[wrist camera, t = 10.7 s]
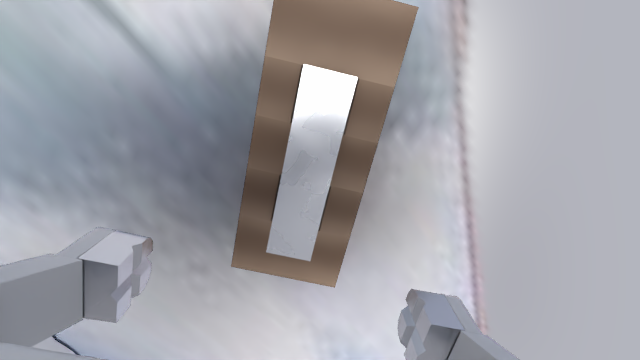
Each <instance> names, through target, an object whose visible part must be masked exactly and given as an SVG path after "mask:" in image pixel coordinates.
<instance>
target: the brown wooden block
mask: <svg viewBox="0 0 640 360" xmlns="http://www.w3.org/2000/svg"><path fill="white" fill-rule="evenodd" d="M417 10H418V7H416V6H412V5H408V4H404V3H401V2H397V1H393V0H274V2H273V8H272V14H271V21H270V27H269V33H268V39H267V46H266V52H265V58H264V64H263V71H262V77H261V83H260V89H259V96H258V102H257V108H256V114H255V121H254V127H253V133H252V139H251V146H250V152H249V158H248V164H247V171H246V177H245V183H244V189H243V196H242V202H241V208H240V214H239V221H238V227H237V233H236V239H235V246H234V252H233V258H232V264H231V267H236V268H241V269H246V270H251V271H256V272H261V273H265V274H270V275H275V276H280V277H285V278H290V279H295V280H300V281H305V282H310V283H315V284H320V285H325V286H330V287H335V285H336V282H337V278H338V275H339V272H340V268H341V265H342V262H343V258H344V255H345V251H346V248H347V245H348V241H349V238H350V235H351V231H352V228H353V225H354V221H355V218H356V215H357V211H358V208H359V205H360V201H361V198H362V195H363V191H364V188H365V185H366V181H367V178H368V174H369V171H370V168H371V164H372V161H373V158H374V154H375V151H376V148H377V144H378V141H379V138H380V134H381V131H382V128H383V124H384V121H385V118H386V114H387V111H388V108H389V104H390V101H391V97H392V94H393V91H394V87H395V84H396V81H397V77H398V74H399V71H400V67H401V64H402V61H403V57H404V54H405V51H406V47H407V44H408V41H409V37H410V34H411V31H412V27H413V24H414V21H415V17H416V14H417ZM304 64H306V65H310V66H314V67H318V68H322V69H326V70H330V71H334V72H338V73H342V74H347V75H351V76H355V77H358V78H357V82H356V86H355V90H354V94H353V98H352V101H351V105H350V109H349V113H348V117H347V121H346V125H345V129H344V132H343V136H342V140H341V144H340V148H339V152H338V156H337V160H336V163H335V167H334V171H333V175H332V179H331V183H330V187H329V191H328V194H327V198H326V202H325V206H324V210H323V214H322V218H321V222H320V225H319V229H318V233H317V237H316V241H315V245H314V249H313V253H312V256H311V260H310V261H306V260H301V259H296V258H292V257H287V256H282V255H277V254H272V253H267V252H266V250H267V245H268V240H269V235H270V230H271V225H272V220H273V215H274V210H275V205H276V200H277V195H278V190H279V185H280V180H281V175H282V170H283V165H284V160H285V155H286V150H287V145H288V140H289V135H290V130H291V125H292V120H293V115H294V110H295V105H296V100H297V95H298V90H299V85H300V80H301V75H302V70H303V65H304Z"/></svg>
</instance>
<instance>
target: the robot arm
mask: <svg viewBox="0 0 640 360" xmlns="http://www.w3.org/2000/svg"><path fill="white" fill-rule="evenodd" d="M152 251H153V240H152V239H151V238H150V237H145V236H140V235H136V234H131V233H126V232H122V231H116V230H113V229H107V228H102V227H99V228H95V229H93V230H92V231H90V232H89V233H87V234H86V235H84V236H83V237H82V238H80V239H79V240H77V241H76V242H74V243H73V244H71V245H70V246H68V247H67V248H65V249H64V250H62V251H61V252H59V253H58V254H56V255H54V254H47V255H43V256H39V257H35V258H31V259H27V260H23V261H19V262H14V263H10V264H6V265H2V266H0V360H106V359H100V358H94V357H88V356H81V355H76V354H75V353H74V352H73V351H71V350H70V349H68V348H67V347H65V346H64V345H62V344H61V343H59V342H57V341H56V340H55V339H54V338H53V337H52V336H53V335H55V334H57V333H59V332H61V331H62V330H64V329H66V328H68V327H70V326H72V325H74V324H76V323H77V322H79V321H81V320H83V318H86V319H93V320H100V321H107V322H114V323H116V322H117V321H118V320H119V319H120V318H121V316H122V315H123V314H124V313H125V312H126V310H127V309H128V308H129V307H130V305H131V298H133V297H135V296H138V295H139V294H140V293H141V292H142V291H143V289H144V288H145V286H146V284H147V282H148V280H149V277H150V273H151V266H152V263H151V262H150V260H149V258H148V257H147V256H148V255H149V254H150V253H151V252H152ZM406 302H407V304H408V306H407V307H406V308H404V309H403V310H402V311H401V313H400V316H399V319H398V336H399V339H400V342H401V343H402V344H403V345H404V346H405V347H406V351H405V353H404V356H405V359H406V360H520V359H518V358H517V357H516V356H514V355H513V354H512V353H510V352H509V351H508V350H506V349H505V348H504V347H503V346H501V345H500V344H499V343H497V342H496V341H495V340H493V339H492V338H491V337H489V336H488V335H483V334H482V332H481V331H480V329H479V328H478V326H477V324H476V323H475V321H474V320H473V318H472V317H471V315H470V314H469V312H468V310H467V309H466V307H465V306H464V304H463V303H462V301H461V300H460V299H459V298H458V297H457V296H451V295H445V294H437V293H431V292H426V291H420V290H414V289H411V290H410V291H409V293H408V295H407V297H406Z"/></svg>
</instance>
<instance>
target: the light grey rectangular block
mask: <svg viewBox="0 0 640 360" xmlns="http://www.w3.org/2000/svg"><path fill="white" fill-rule="evenodd" d="M357 78H358V77H355V76H351V75H347V74H342V73H338V72H334V71H330V70H326V69H322V68H318V67H314V66H310V65H306V64H304V65H303V70H302V75H301V80H300V85H299V90H298V95H297V100H296V105H295V110H294V115H293V120H292V125H291V130H290V135H289V140H288V145H287V150H286V155H285V160H284V165H283V170H282V175H281V180H280V185H279V190H278V195H277V200H276V205H275V210H274V215H273V220H272V225H271V230H270V235H269V240H268V245H267V250H266V252H267V253H272V254H277V255H282V256H287V257H292V258H296V259H301V260H306V261H310V260H311V256H312V253H313V249H314V245H315V241H316V237H317V233H318V229H319V225H320V222H321V218H322V214H323V210H324V206H325V202H326V198H327V194H328V191H329V187H330V183H331V179H332V175H333V171H334V167H335V163H336V160H337V156H338V152H339V148H340V144H341V140H342V136H343V132H344V129H345V125H346V121H347V117H348V113H349V109H350V105H351V101H352V98H353V94H354V90H355V86H356V82H357Z"/></svg>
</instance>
